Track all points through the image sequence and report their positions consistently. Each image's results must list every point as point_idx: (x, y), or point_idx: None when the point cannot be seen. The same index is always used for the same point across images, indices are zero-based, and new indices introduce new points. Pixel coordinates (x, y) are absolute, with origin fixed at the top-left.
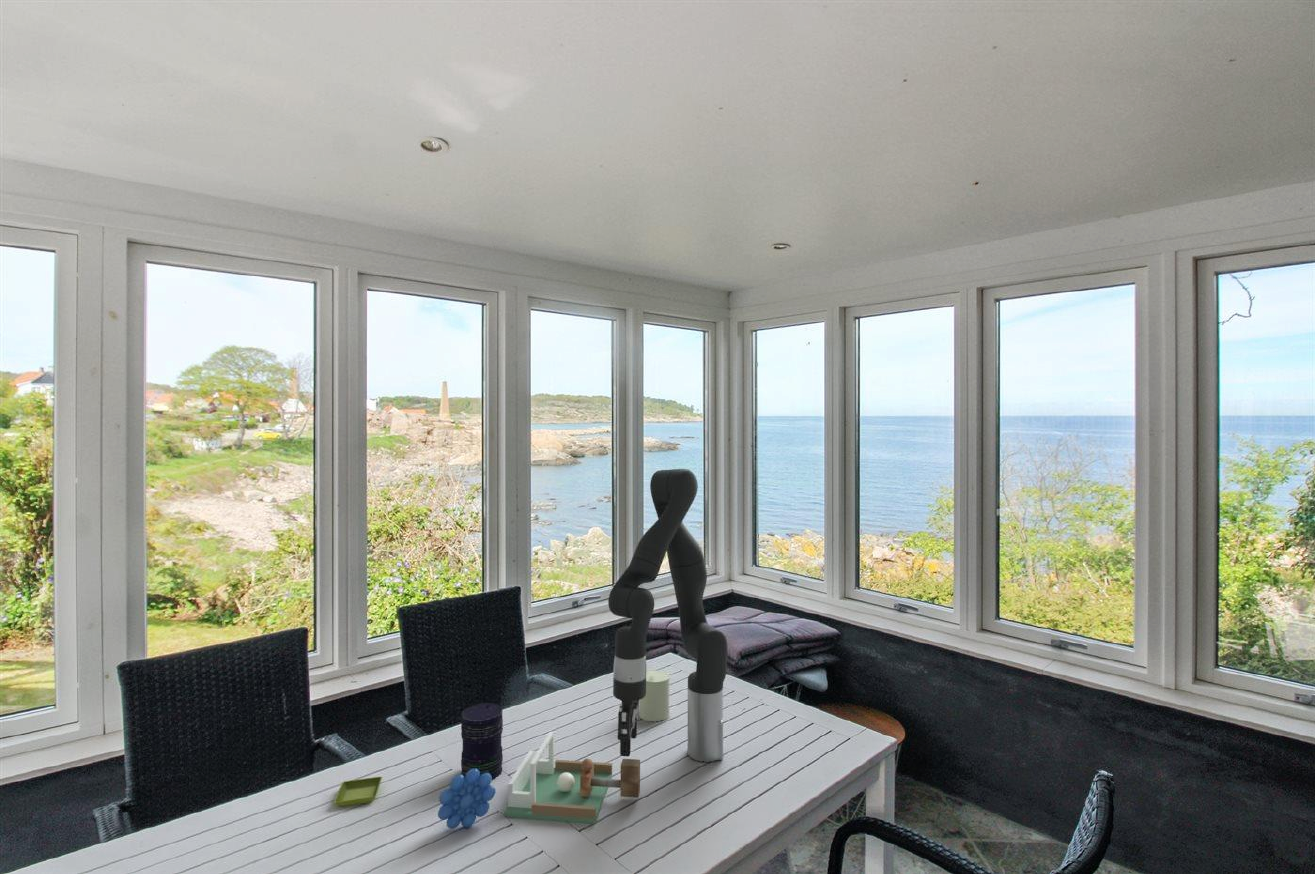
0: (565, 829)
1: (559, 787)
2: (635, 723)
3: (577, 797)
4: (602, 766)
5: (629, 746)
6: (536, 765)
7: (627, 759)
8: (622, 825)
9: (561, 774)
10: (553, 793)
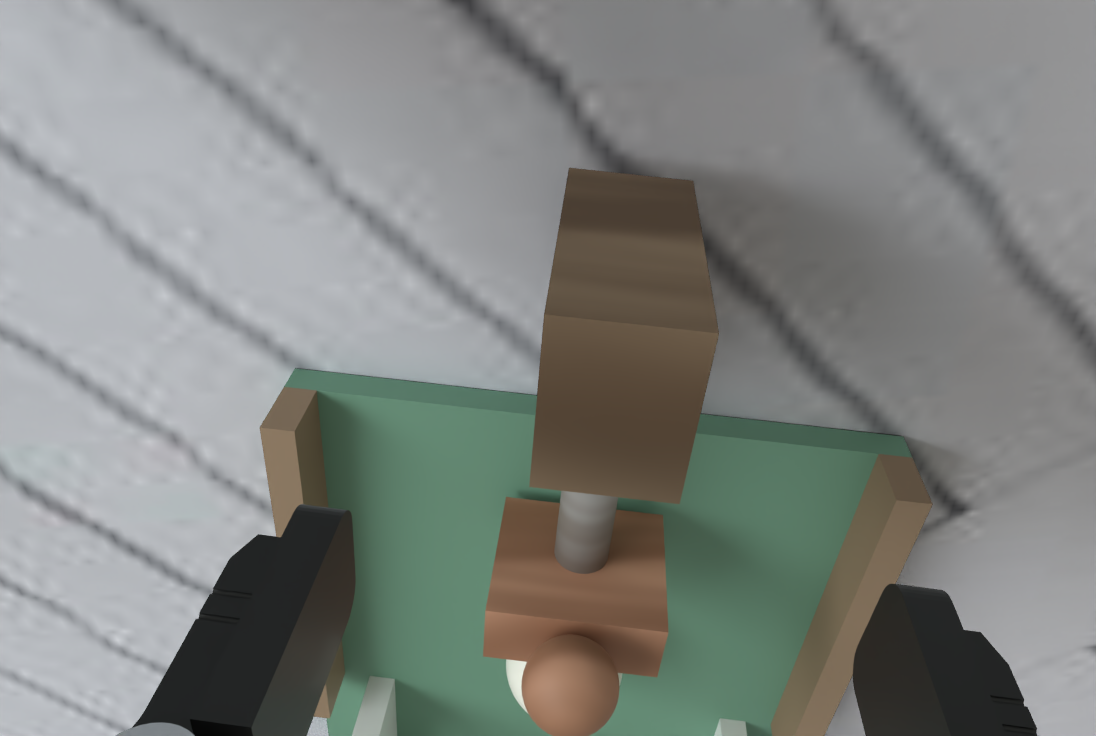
0: (926, 572)
1: None
2: (260, 720)
3: None
4: (306, 479)
5: (993, 718)
6: None
7: (548, 443)
8: (968, 265)
9: None
10: None
